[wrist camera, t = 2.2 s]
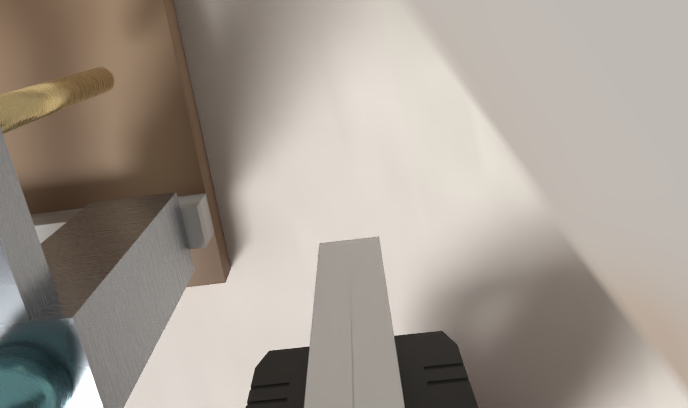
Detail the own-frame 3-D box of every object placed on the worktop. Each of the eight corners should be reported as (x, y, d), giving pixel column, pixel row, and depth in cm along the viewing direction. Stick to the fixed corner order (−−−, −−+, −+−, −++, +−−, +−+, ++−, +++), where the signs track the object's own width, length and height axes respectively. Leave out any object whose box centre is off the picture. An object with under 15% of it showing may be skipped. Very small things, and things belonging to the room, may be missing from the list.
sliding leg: (113, 279, 20) (-53, 489, 12) (47, 60, 17) (-234, 119, 9) (195, 270, 20) (88, 474, 11) (141, 48, 17) (-50, 95, 9)
